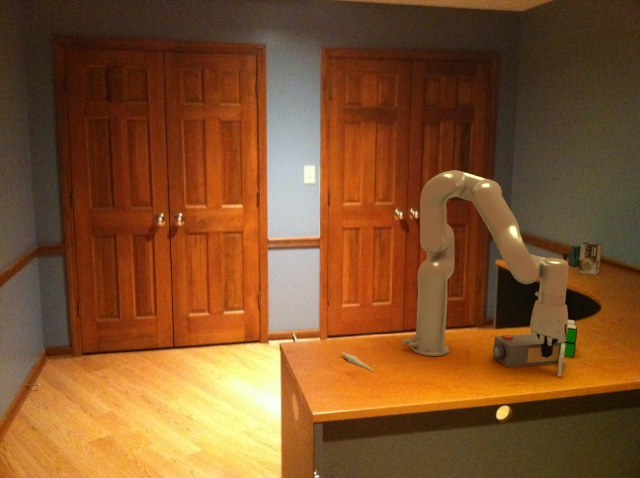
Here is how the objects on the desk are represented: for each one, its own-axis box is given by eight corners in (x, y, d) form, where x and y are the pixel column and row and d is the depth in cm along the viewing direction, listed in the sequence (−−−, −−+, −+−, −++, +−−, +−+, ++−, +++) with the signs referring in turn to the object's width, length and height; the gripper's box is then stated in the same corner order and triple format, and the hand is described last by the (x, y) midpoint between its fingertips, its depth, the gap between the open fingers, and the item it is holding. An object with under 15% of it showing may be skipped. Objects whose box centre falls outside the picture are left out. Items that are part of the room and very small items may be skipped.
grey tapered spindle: (338, 357, 184) (339, 351, 184) (345, 355, 186) (345, 349, 186) (369, 374, 173) (370, 369, 172) (376, 373, 174) (376, 367, 174)
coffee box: (599, 273, 311) (602, 244, 308) (595, 275, 307) (598, 245, 304) (581, 270, 317) (585, 241, 315) (577, 272, 313) (580, 243, 310)
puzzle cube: (572, 347, 198) (575, 320, 196) (574, 358, 189) (577, 329, 187) (541, 343, 201) (543, 316, 199) (542, 353, 192) (544, 325, 190)
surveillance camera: (566, 242, 334) (583, 245, 327) (564, 262, 337) (580, 266, 329) (561, 243, 331) (578, 246, 323) (559, 264, 333) (575, 267, 325)
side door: (563, 377, 172) (565, 356, 171) (557, 376, 173) (559, 355, 171) (565, 363, 183) (567, 343, 182) (559, 362, 184) (561, 342, 183)
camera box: (503, 368, 178) (505, 344, 177) (488, 357, 187) (489, 334, 186) (558, 363, 183) (561, 340, 182) (541, 353, 192) (543, 330, 191)
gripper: (522, 295, 177) (517, 351, 180) (570, 306, 166) (563, 366, 169) (535, 291, 182) (530, 346, 185) (581, 302, 171) (575, 360, 174)
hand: (546, 356), depth 177 cm, fingers closed
